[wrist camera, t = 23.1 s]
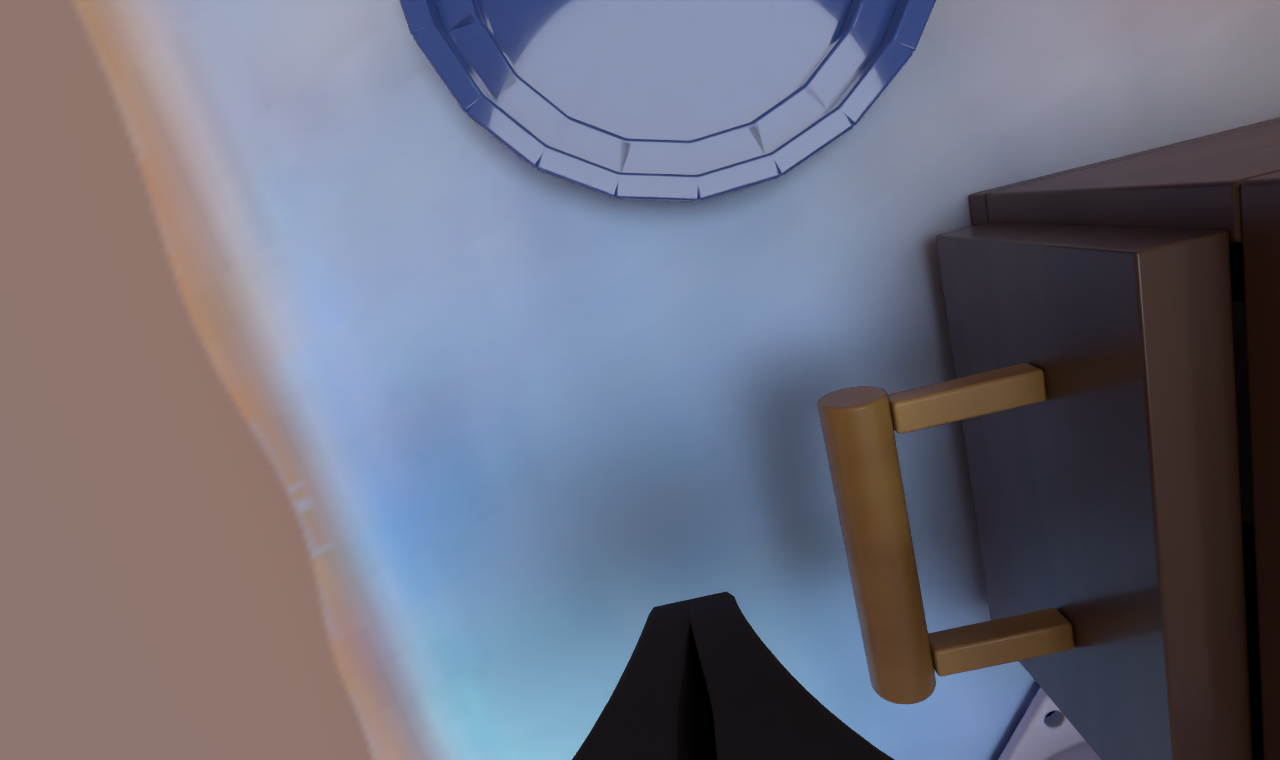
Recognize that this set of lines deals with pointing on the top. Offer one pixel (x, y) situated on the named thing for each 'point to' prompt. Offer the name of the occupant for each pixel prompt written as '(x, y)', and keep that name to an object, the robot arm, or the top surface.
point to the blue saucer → (666, 83)
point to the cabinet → (1273, 287)
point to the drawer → (1076, 486)
